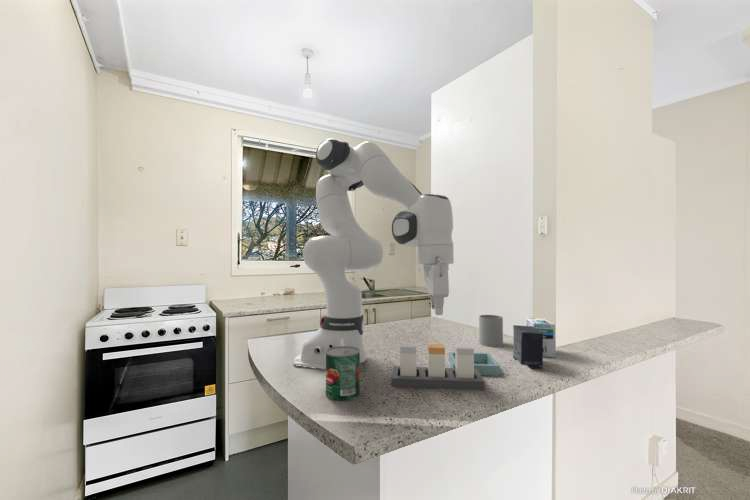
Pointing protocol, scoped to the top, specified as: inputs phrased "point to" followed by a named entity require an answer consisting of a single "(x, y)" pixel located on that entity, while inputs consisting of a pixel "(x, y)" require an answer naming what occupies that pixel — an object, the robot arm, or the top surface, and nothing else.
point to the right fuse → (464, 361)
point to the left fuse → (408, 359)
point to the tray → (483, 369)
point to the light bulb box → (545, 335)
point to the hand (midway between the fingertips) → (436, 311)
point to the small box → (528, 346)
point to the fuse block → (437, 380)
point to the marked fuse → (436, 360)
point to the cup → (491, 330)
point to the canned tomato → (342, 373)
